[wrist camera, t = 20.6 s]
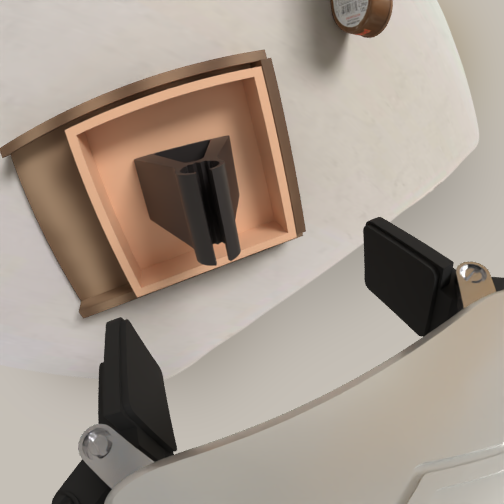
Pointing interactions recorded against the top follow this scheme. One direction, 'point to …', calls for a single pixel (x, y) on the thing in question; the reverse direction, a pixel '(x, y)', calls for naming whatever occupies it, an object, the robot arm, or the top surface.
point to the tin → (362, 16)
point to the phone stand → (194, 195)
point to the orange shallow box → (174, 135)
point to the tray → (75, 194)
